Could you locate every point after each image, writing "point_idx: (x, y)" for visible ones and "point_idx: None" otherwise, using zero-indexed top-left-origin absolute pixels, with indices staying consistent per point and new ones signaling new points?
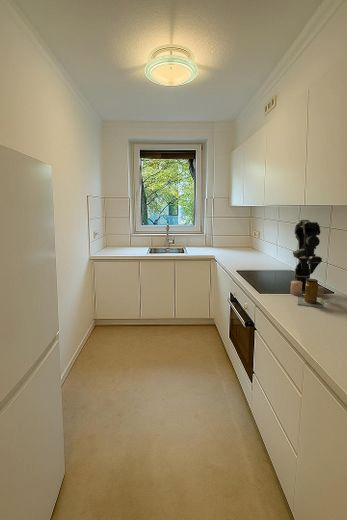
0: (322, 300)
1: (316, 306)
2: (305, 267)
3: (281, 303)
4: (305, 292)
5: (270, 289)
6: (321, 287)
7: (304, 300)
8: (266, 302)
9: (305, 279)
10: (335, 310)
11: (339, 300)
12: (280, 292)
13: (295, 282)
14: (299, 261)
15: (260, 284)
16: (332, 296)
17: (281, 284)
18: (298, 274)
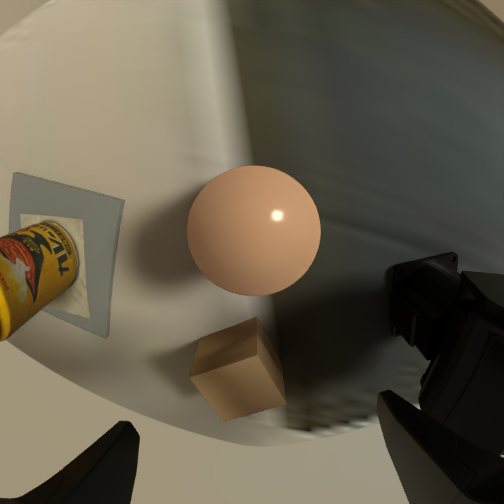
0: (100, 335)
1: None
2: (471, 422)
3: (30, 86)
4: (4, 236)
5: (350, 41)
6: (219, 406)
7: (51, 223)
8: (48, 17)
9: (423, 352)
10: None
11: (157, 412)
12: (272, 90)
13: (221, 211)
14: None
15: (457, 34)
16: None
17: (484, 179)
18: (454, 315)
